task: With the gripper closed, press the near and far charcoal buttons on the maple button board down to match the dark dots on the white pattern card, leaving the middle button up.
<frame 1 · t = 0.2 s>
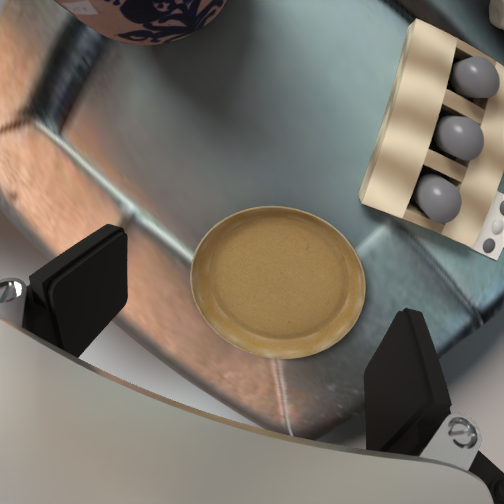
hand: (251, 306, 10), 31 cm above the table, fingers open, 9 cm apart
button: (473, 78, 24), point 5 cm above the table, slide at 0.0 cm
pattern card: (496, 225, 34), on the table
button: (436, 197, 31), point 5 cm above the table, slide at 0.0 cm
button board: (443, 133, 32), on the table
middle button: (458, 136, 28), point 5 cm above the table, slide at 0.0 cm
plant saucer: (278, 280, 46), on the table
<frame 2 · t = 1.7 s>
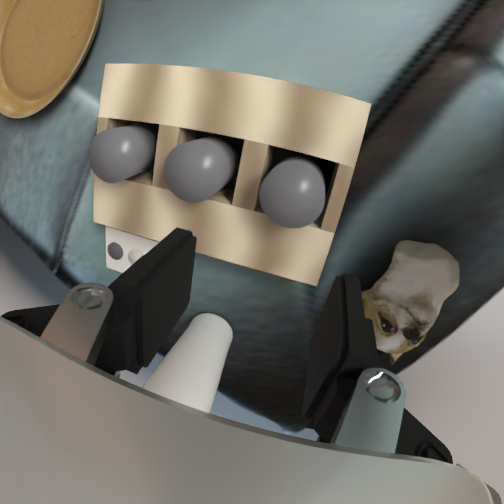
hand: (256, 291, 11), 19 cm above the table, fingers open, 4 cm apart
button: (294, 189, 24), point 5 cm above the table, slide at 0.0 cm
pattern card: (138, 256, 36), on the table
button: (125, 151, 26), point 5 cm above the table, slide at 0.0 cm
button board: (220, 158, 29), on the table
ceramic sculpture: (394, 287, 31), on the table
middle button: (202, 167, 25), point 5 cm above the table, slide at 0.0 cm
plant saucer: (46, 28, 26), on the table
drinking glass: (213, 327, 38), on the table
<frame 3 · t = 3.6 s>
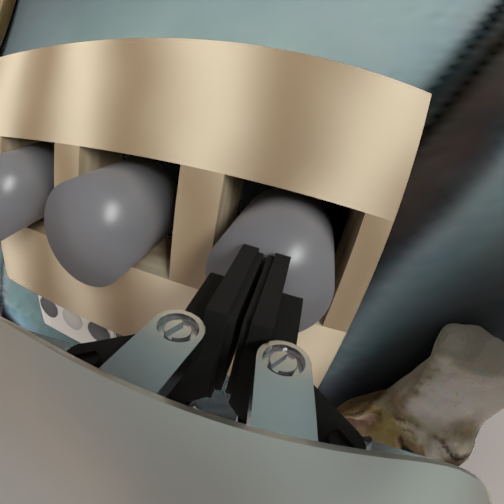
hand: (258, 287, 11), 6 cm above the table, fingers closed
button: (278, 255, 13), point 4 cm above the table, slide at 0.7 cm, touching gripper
pattern card: (75, 315, 24), on the table
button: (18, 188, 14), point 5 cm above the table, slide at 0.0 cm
button board: (160, 189, 18), on the table
ceramic sculpture: (422, 376, 19), on the table
middle button: (113, 216, 13), point 5 cm above the table, slide at 0.0 cm
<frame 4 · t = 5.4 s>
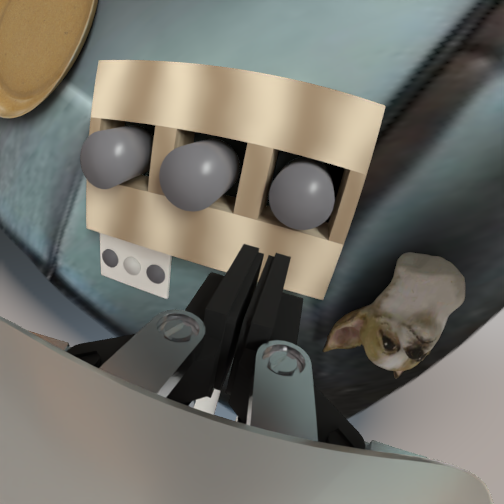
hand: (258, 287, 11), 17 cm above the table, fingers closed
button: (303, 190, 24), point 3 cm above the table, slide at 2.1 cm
pattern card: (134, 264, 34), on the table
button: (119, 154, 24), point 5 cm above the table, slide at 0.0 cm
button board: (220, 162, 27), on the table
ceramic sculpture: (396, 300, 29), on the table
middle button: (201, 172, 23), point 5 cm above the table, slide at 0.0 cm
plant saucer: (40, 24, 24), on the table
drinking glass: (212, 338, 36), on the table
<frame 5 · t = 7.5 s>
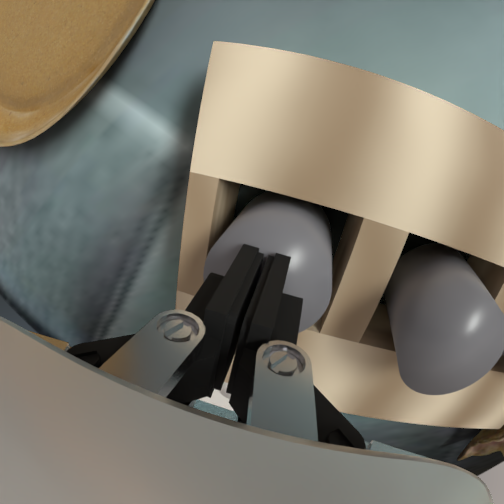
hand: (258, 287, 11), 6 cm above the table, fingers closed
pattern card: (235, 385, 22), on the table
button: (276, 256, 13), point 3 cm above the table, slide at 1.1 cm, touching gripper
button board: (418, 266, 16), on the table
middle button: (441, 316, 11), point 5 cm above the table, slide at 0.0 cm
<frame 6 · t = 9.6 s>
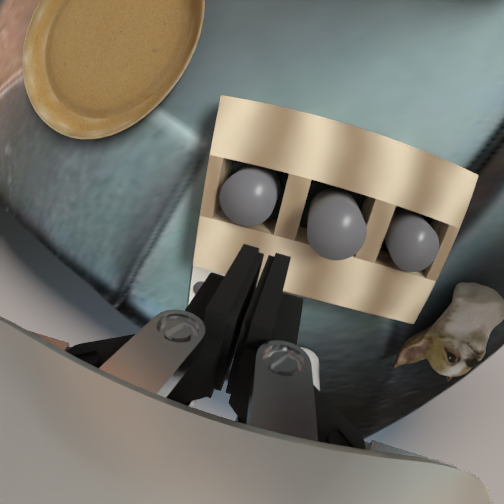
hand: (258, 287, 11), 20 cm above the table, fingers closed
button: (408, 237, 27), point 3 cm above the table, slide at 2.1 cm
pattern card: (228, 295, 36), on the table
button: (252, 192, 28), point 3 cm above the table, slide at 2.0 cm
button board: (332, 206, 30), on the table
ceramic sculpture: (448, 319, 33), on the table
middle button: (335, 222, 26), point 5 cm above the table, slide at 0.0 cm
plant saucer: (111, 34, 26), on the table
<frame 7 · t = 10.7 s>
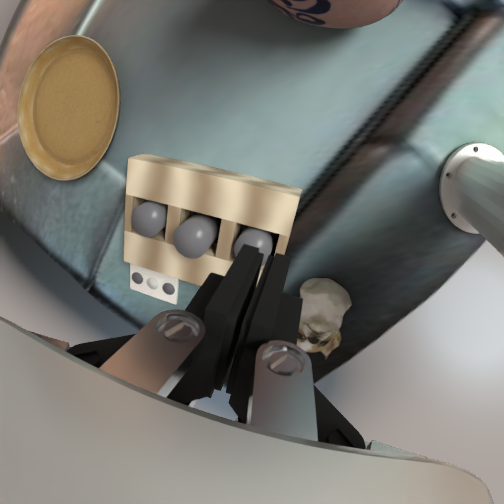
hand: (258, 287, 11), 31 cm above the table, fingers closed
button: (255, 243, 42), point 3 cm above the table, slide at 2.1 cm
pattern card: (153, 282, 52), on the table
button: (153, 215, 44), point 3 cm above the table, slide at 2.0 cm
button board: (208, 222, 45), on the table
ceramic sculpture: (315, 307, 48), on the table
middle button: (196, 234, 41), point 5 cm above the table, slide at 0.0 cm
plant saucer: (73, 106, 42), on the table
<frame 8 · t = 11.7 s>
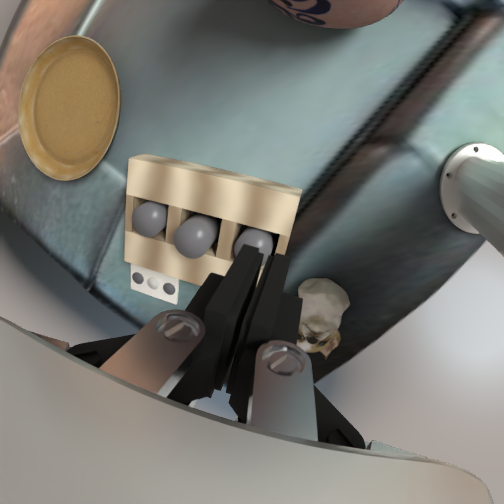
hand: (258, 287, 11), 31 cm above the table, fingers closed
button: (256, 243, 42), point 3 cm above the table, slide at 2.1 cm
pattern card: (154, 282, 52), on the table
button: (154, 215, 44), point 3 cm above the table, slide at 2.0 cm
button board: (208, 222, 45), on the table
ceramic sculpture: (314, 307, 48), on the table
middle button: (197, 234, 41), point 5 cm above the table, slide at 0.0 cm
plant saucer: (73, 106, 42), on the table
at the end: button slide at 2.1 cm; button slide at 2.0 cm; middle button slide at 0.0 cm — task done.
